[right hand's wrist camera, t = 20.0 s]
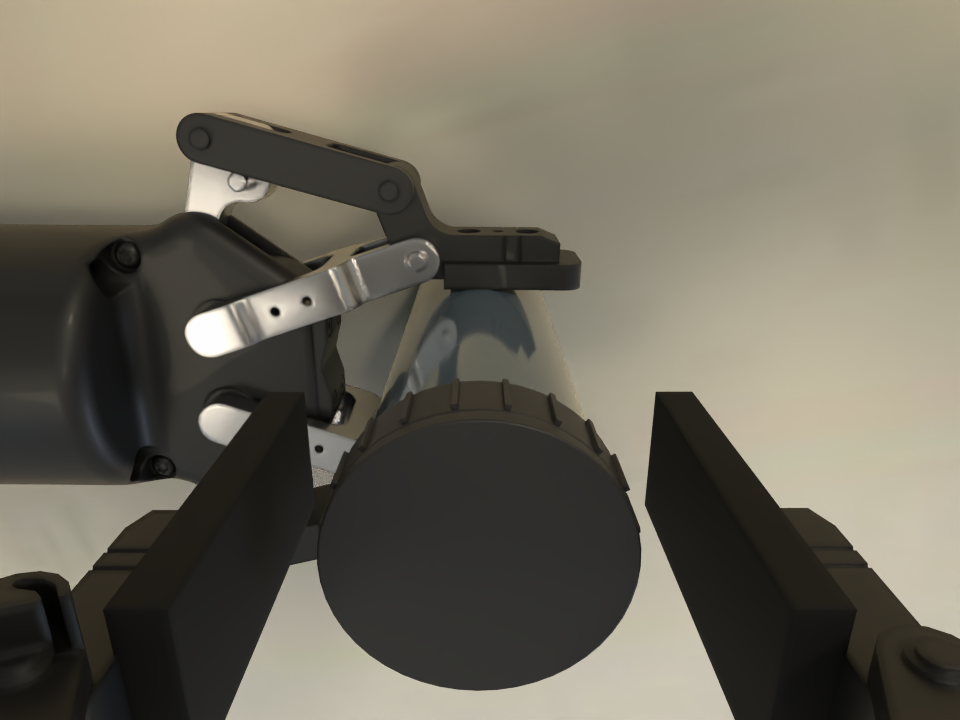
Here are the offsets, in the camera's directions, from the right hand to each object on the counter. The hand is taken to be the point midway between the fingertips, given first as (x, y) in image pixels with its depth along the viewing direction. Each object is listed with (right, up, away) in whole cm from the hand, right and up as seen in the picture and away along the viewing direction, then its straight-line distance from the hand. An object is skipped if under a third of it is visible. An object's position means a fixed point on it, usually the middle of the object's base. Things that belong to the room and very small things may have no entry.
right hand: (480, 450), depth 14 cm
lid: (0, -1, -3) cm, 4 cm away
